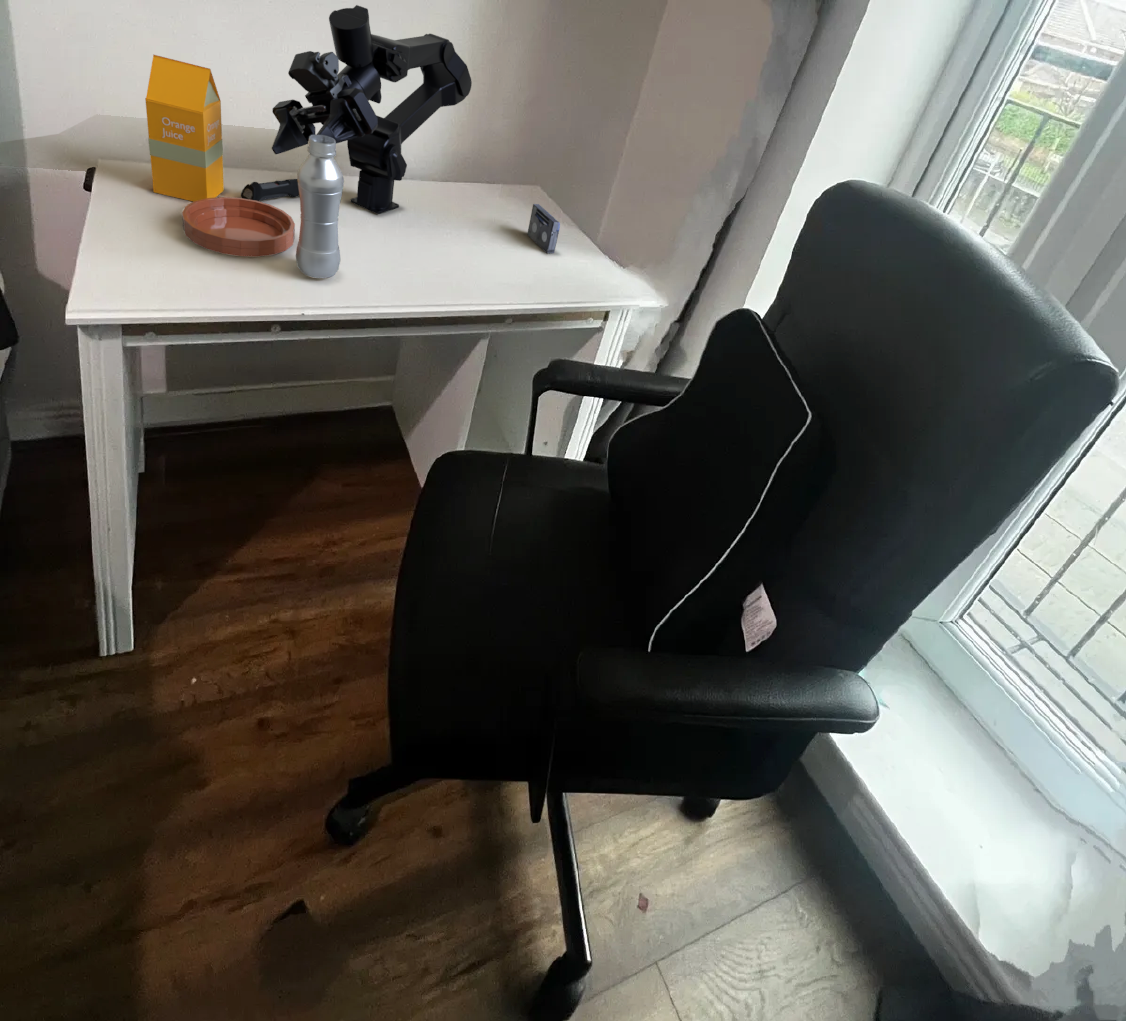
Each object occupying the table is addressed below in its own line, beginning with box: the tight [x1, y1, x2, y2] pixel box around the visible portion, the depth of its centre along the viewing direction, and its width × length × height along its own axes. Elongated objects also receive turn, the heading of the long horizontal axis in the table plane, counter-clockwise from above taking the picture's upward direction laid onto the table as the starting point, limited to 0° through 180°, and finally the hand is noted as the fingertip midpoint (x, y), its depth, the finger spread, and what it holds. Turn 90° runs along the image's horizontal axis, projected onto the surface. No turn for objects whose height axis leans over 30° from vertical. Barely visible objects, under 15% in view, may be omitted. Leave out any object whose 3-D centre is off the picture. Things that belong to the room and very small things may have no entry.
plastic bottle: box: [295, 134, 345, 279], centre depth 120 cm, size 6×7×20 cm
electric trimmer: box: [240, 178, 300, 202], centre depth 144 cm, size 4×16×3 cm, turn 142°
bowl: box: [181, 196, 296, 258], centre depth 128 cm, size 16×16×3 cm
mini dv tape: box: [526, 203, 561, 254], centre depth 153 cm, size 8×2×6 cm, turn 31°
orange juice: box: [145, 54, 225, 202], centre depth 132 cm, size 8×9×20 cm
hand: (293, 148), depth 123 cm, fingers open, 9 cm apart
